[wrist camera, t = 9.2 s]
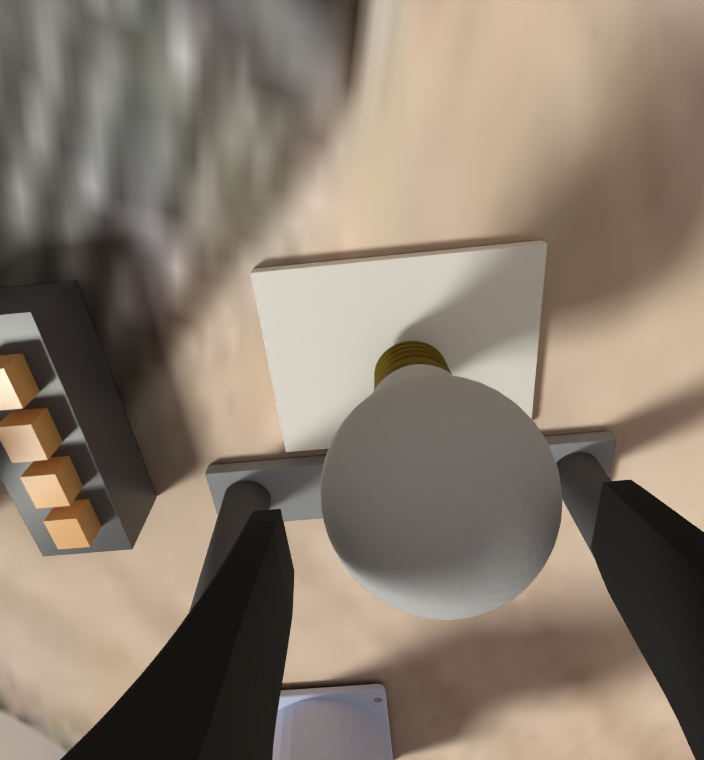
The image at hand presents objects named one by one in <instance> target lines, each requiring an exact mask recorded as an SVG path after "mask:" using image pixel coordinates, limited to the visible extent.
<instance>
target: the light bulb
mask: <svg viewBox="0 0 704 760" xmlns="http://www.w3.org/2000/svg"><path fill="white" fill-rule="evenodd" d="M321 508H322V514H323V519H324V523H325V527H326V531H327V534H328V537H329V539H330V541H331V543H332V545H333V548H334V550H335V552H336V554H337V556H338V557H339V559H340V561H341V562H342V564H343V565H344V566H345V568H346V569H347V570H348V572H349V573H350V574H351V576H352V577H353V578H354V579H355V580H356V581H357V582H358V583H359V584H360V585H361V586H362V587H363V588H364V589H365V590H367V591H368V592H369V593H370V594H371V595H373V596H374V597H376V598H377V599H379V600H380V601H382V602H384V603H385V604H387V605H389V606H391V607H393V608H395V609H397V610H399V611H402V612H405V613H408V614H411V615H414V616H418V617H423V618H428V619H437V620H455V619H464V618H469V617H474V616H478V615H481V614H484V613H487V612H490V611H492V610H494V609H497V608H499V607H500V606H502V605H504V604H506V603H507V602H509V601H511V600H512V599H513V598H515V597H516V596H517V595H519V594H520V593H521V592H522V591H523V590H524V589H525V588H526V587H527V586H528V585H529V584H530V583H531V582H532V581H533V580H534V579H535V578H536V576H537V575H538V574H539V572H540V571H541V570H542V568H543V567H544V565H545V564H546V562H547V560H548V558H549V556H550V554H551V552H552V550H553V547H554V545H555V542H556V539H557V535H558V531H559V527H560V523H561V514H562V489H561V483H560V476H559V472H558V467H557V465H556V462H555V459H554V457H553V454H552V452H551V449H550V447H549V445H548V443H547V441H546V439H545V438H544V436H543V435H542V433H541V432H540V430H539V428H538V427H537V425H536V424H535V423H534V421H533V420H532V419H531V418H530V417H529V416H528V415H527V414H526V413H525V412H524V411H523V410H522V409H521V408H520V407H519V406H518V405H517V404H516V403H515V402H513V401H512V400H510V399H509V398H508V397H506V396H505V395H503V394H502V393H500V392H499V391H497V390H495V389H493V388H491V387H489V386H487V385H484V384H482V383H480V382H477V381H474V380H470V379H467V378H463V377H459V376H453V375H452V374H451V372H450V370H449V368H448V365H447V363H446V361H445V359H444V357H443V356H442V354H441V353H440V352H439V351H438V350H437V349H436V348H434V347H433V346H431V345H429V344H427V343H424V342H420V341H406V342H401V343H398V344H396V345H394V346H392V347H390V348H389V349H387V350H386V351H385V352H384V353H383V354H382V355H381V357H380V358H379V360H378V361H377V364H376V366H375V371H374V392H373V393H372V394H371V395H370V396H368V397H367V398H366V399H365V400H364V401H363V402H361V403H360V404H359V405H358V406H357V407H355V408H354V410H353V411H352V412H351V413H350V414H349V415H348V417H347V418H346V419H345V420H344V421H343V423H342V424H341V426H340V428H339V429H338V431H337V433H336V434H335V436H334V438H333V439H332V442H331V444H330V447H329V450H328V452H327V455H326V458H325V461H324V466H323V472H322V478H321Z"/></svg>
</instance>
